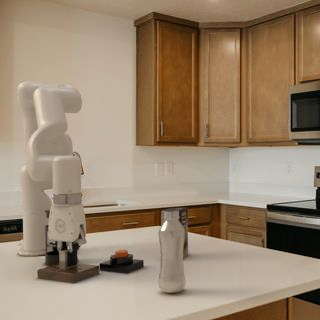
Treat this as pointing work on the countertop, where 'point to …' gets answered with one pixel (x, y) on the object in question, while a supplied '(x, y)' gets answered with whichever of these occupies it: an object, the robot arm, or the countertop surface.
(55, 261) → the french press
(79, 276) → the dial panel
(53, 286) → the countertop surface
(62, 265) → the bar knob
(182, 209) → the coffee box
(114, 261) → the button box
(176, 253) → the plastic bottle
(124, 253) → the button
